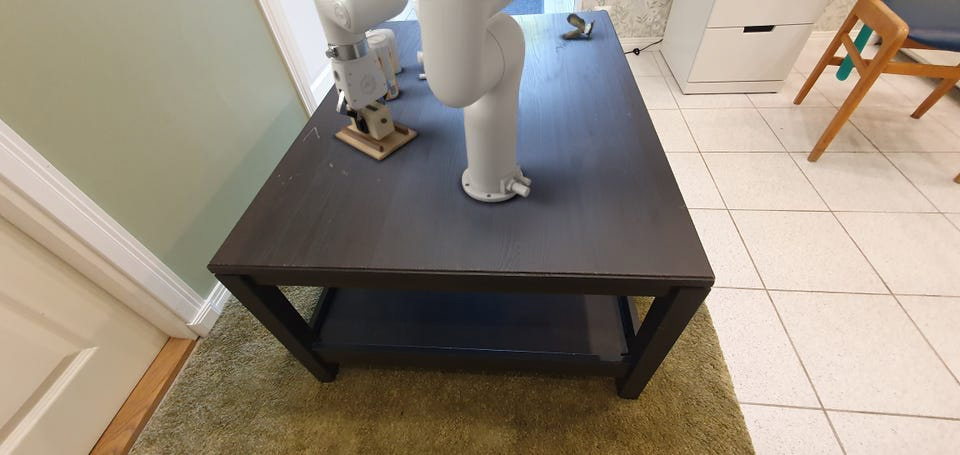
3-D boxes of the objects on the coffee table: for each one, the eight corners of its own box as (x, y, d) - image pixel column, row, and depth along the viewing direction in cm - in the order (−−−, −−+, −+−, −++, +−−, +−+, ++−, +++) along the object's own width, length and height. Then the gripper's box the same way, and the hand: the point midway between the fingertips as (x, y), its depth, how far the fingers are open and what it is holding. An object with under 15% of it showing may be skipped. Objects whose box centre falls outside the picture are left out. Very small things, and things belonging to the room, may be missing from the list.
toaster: (369, 118, 92) (362, 95, 87) (397, 131, 88) (391, 108, 83) (353, 127, 89) (345, 104, 85) (381, 141, 85) (374, 118, 81)
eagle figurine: (591, 28, 124) (565, 21, 124) (598, 13, 117) (570, 6, 117) (586, 48, 123) (559, 42, 124) (592, 35, 116) (564, 28, 116)
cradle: (373, 114, 97) (371, 106, 95) (417, 135, 90) (415, 126, 88) (336, 137, 91) (332, 129, 89) (379, 160, 84) (377, 152, 82)
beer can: (388, 87, 106) (374, 32, 95) (404, 93, 103) (392, 36, 92) (373, 97, 103) (357, 40, 91) (388, 103, 100) (374, 46, 89)
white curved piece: (398, 66, 114) (389, 23, 105) (404, 71, 112) (395, 28, 103) (367, 76, 111) (354, 33, 102) (372, 82, 108) (360, 38, 99)
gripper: (326, 69, 69) (355, 149, 82) (393, 36, 77) (410, 114, 91) (302, 59, 72) (334, 138, 86) (370, 29, 80) (389, 105, 94)
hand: (373, 125), depth 88 cm, fingers closed on toaster, 5 cm apart
